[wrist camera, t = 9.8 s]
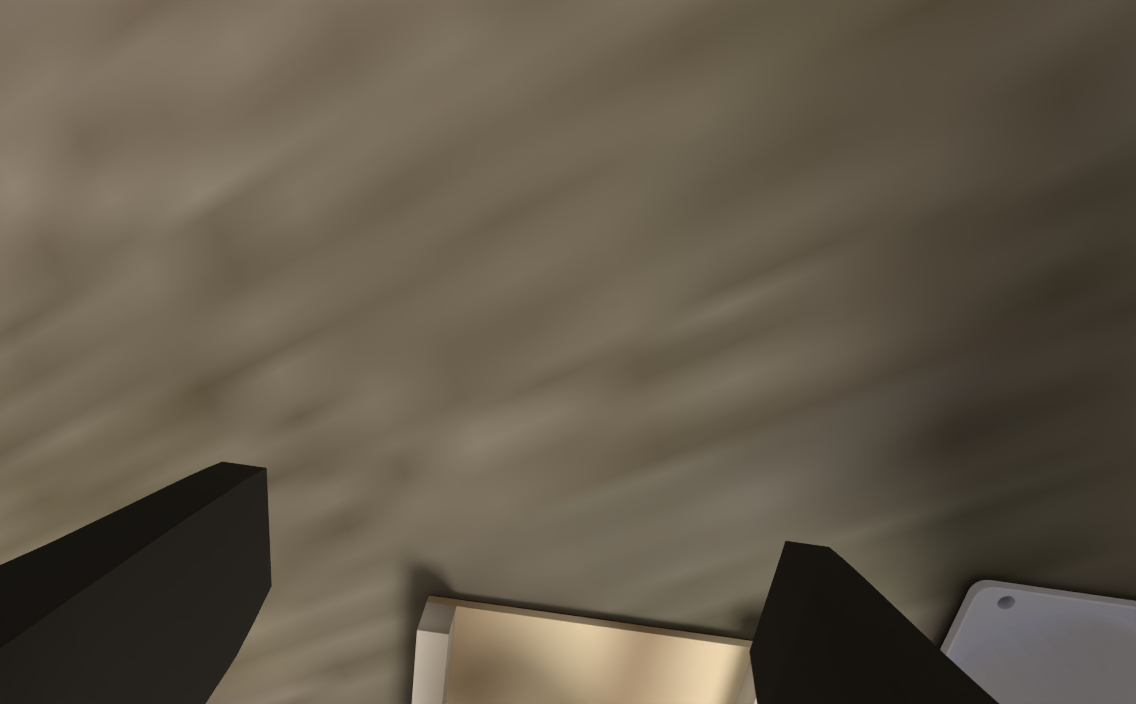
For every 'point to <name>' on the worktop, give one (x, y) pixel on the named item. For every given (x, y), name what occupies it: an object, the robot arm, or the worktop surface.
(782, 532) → the worktop surface
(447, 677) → the lane
